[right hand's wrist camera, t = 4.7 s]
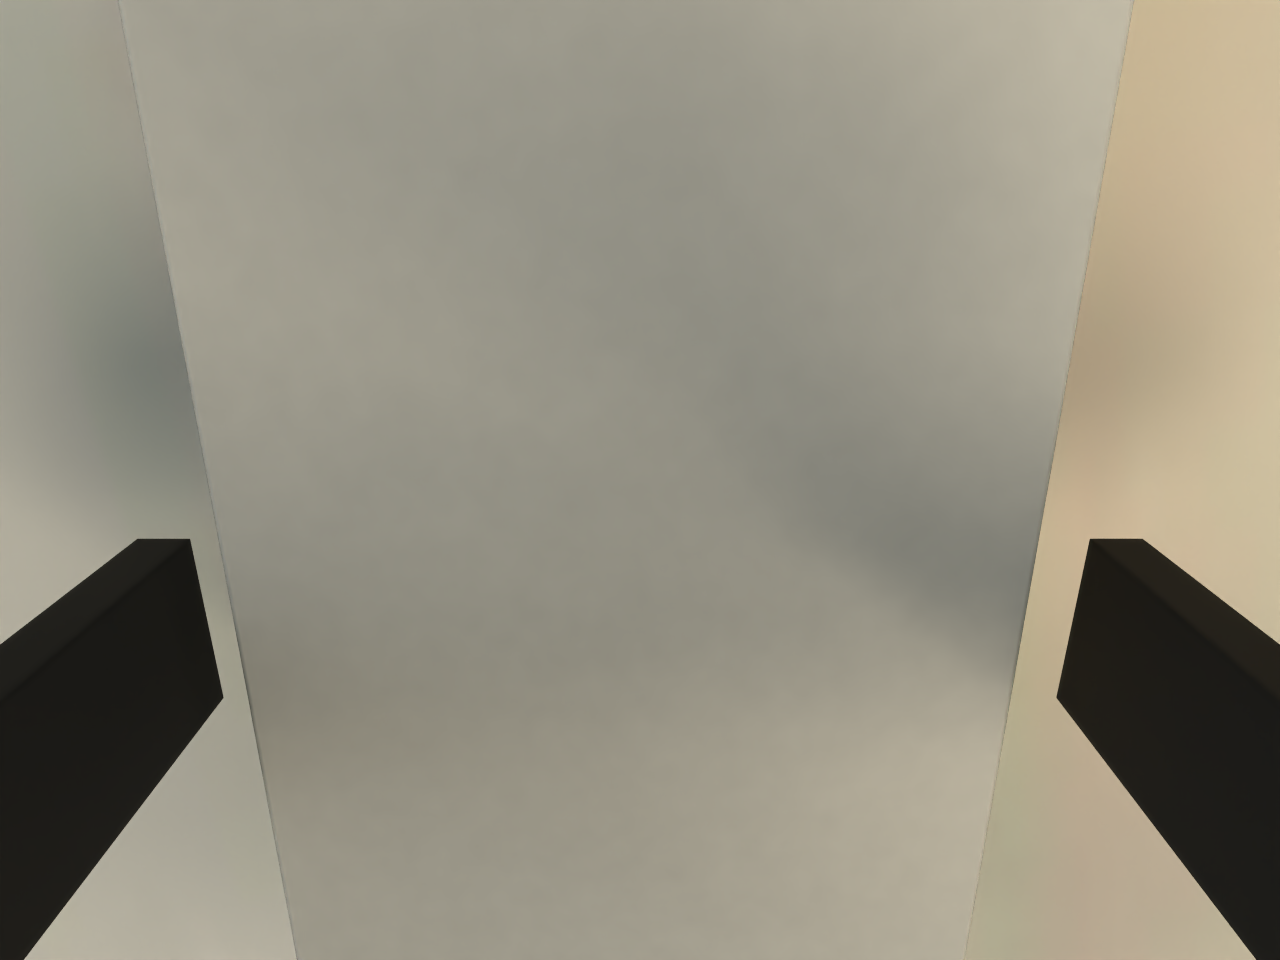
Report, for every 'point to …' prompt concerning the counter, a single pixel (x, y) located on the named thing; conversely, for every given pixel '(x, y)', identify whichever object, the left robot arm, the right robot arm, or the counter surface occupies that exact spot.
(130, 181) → the counter surface
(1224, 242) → the counter surface
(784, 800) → the thick board
